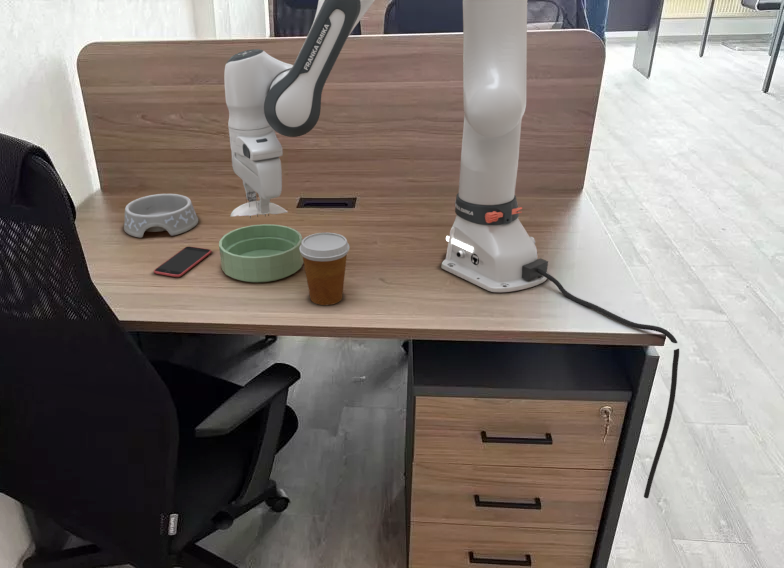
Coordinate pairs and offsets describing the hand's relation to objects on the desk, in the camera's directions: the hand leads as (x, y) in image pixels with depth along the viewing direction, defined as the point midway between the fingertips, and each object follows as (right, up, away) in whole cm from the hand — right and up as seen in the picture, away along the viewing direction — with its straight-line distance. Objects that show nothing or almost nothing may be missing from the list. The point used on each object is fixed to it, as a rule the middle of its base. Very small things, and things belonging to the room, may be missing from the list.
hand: (257, 206), depth 150 cm
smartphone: (-17, -10, +10) cm, 23 cm away
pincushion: (0, -2, +1) cm, 2 cm away
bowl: (+1, -11, +7) cm, 14 cm away
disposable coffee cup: (+14, -20, -7) cm, 25 cm away
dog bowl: (-26, +2, +31) cm, 40 cm away
